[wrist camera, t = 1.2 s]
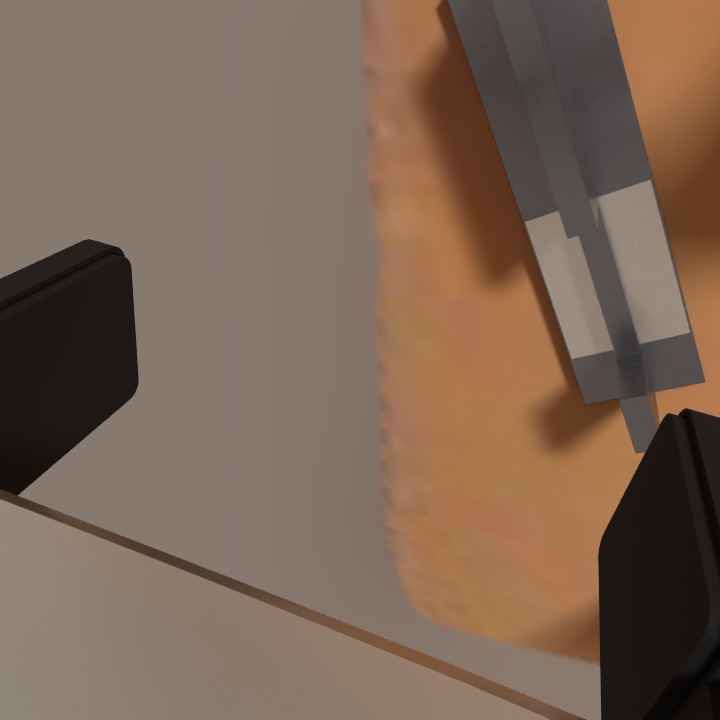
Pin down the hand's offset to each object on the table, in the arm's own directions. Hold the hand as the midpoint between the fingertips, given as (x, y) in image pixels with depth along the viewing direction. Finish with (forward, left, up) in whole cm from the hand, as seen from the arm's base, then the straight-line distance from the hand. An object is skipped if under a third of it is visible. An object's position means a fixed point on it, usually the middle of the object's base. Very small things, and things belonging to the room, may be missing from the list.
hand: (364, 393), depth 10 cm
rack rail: (-2, +4, -23) cm, 24 cm away
